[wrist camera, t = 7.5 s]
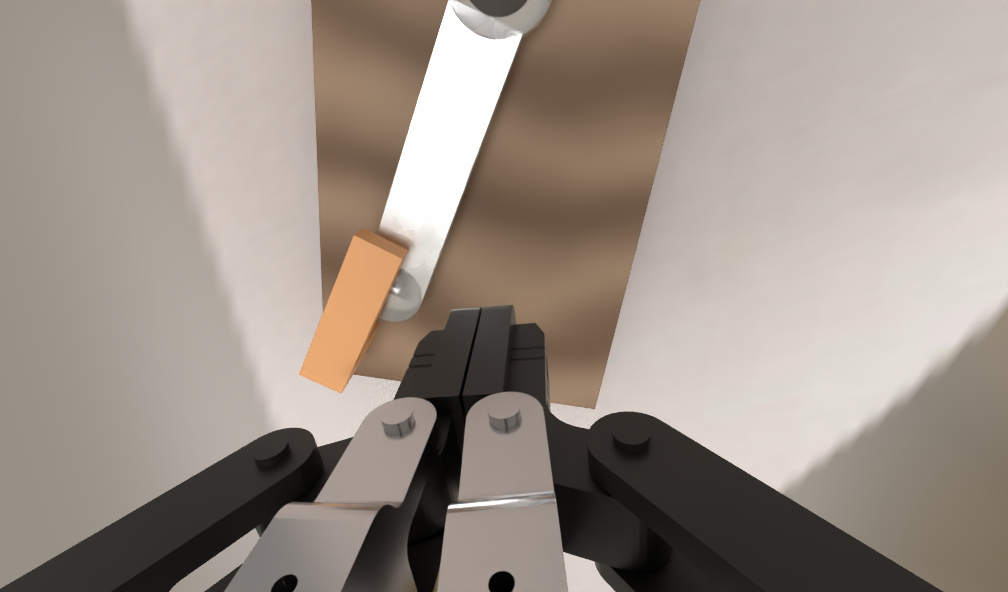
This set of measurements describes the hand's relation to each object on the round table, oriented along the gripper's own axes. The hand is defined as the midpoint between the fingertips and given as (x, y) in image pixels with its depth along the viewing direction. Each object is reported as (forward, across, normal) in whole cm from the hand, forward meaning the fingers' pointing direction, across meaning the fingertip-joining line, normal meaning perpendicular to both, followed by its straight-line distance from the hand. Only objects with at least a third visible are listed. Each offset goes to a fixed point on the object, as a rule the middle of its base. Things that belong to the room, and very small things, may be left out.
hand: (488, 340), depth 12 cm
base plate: (+16, +2, 0) cm, 16 cm away
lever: (+14, +3, -3) cm, 15 cm away
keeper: (+14, +9, +4) cm, 17 cm away
